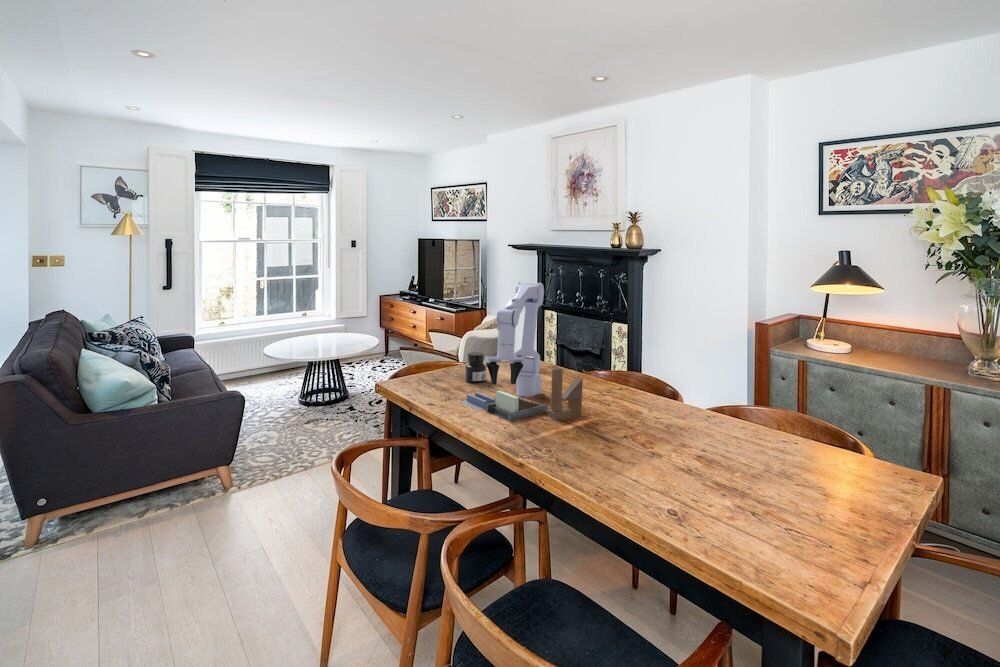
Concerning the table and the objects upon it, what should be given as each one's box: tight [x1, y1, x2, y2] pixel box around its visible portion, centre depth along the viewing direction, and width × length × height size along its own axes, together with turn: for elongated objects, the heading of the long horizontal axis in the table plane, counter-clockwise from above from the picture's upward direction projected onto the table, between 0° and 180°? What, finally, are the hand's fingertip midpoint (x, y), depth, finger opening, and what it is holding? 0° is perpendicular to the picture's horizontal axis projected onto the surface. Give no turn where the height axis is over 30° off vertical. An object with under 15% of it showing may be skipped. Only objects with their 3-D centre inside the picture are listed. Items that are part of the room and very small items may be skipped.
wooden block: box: [548, 367, 584, 421], centre depth 179 cm, size 4×11×18 cm, turn 112°
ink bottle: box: [465, 351, 487, 384], centre depth 227 cm, size 10×9×12 cm
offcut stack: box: [518, 396, 540, 410], centre depth 187 cm, size 4×8×4 cm, turn 39°
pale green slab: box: [495, 390, 520, 413], centre depth 182 cm, size 2×10×7 cm, turn 39°
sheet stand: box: [459, 391, 496, 411], centre depth 194 cm, size 10×12×4 cm
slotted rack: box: [485, 396, 549, 423], centre depth 185 cm, size 17×13×4 cm
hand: (503, 384), depth 181 cm, fingers open, 7 cm apart
